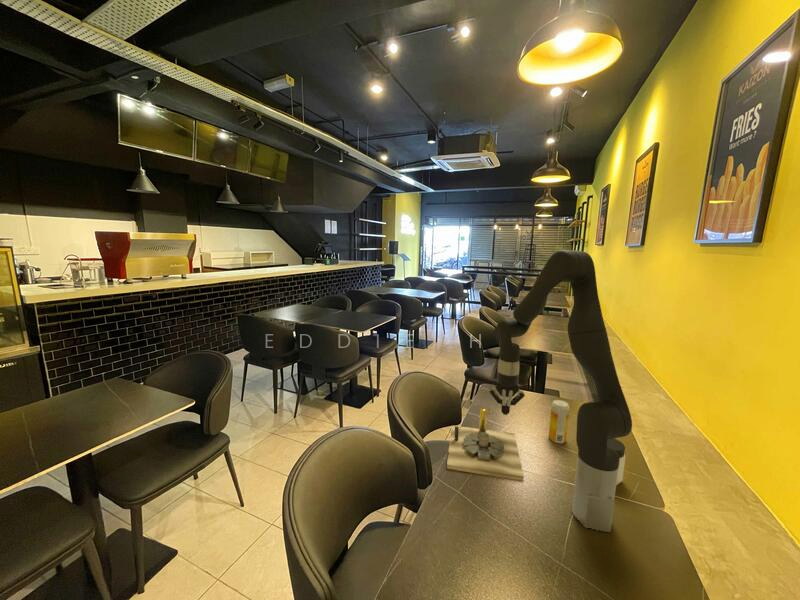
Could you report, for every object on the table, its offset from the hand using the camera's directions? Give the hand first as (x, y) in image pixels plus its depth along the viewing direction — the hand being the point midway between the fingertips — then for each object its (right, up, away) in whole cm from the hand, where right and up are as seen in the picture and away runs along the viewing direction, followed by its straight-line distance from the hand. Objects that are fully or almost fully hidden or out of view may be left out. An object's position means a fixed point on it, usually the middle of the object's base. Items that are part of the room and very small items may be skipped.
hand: (505, 413), depth 120 cm
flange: (-10, -9, -5) cm, 14 cm away
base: (-10, -11, -6) cm, 17 cm away
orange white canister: (+20, -10, +1) cm, 23 cm away
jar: (+26, -14, -19) cm, 35 cm away
